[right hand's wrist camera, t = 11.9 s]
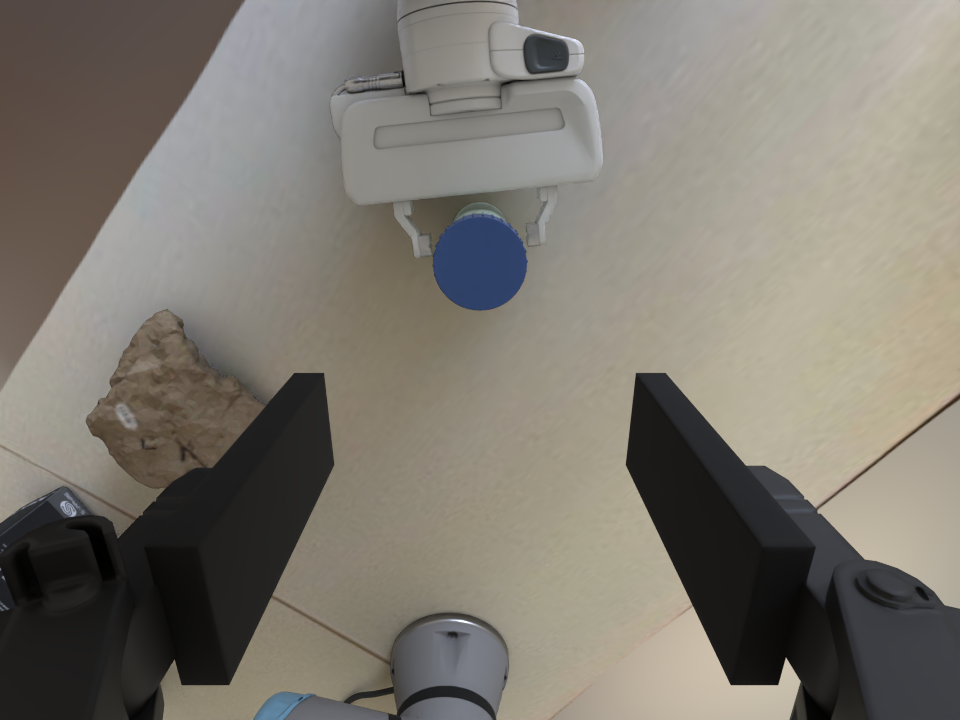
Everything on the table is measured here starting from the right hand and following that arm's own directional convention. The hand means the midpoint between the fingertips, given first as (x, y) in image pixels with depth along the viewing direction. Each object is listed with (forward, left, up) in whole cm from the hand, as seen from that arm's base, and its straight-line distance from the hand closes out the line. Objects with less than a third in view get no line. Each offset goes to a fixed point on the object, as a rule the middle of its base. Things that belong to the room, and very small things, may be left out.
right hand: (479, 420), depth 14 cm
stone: (-34, +4, -39) cm, 52 cm away
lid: (0, 0, -22) cm, 22 cm away
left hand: (0, -1, -32) cm, 32 cm away
